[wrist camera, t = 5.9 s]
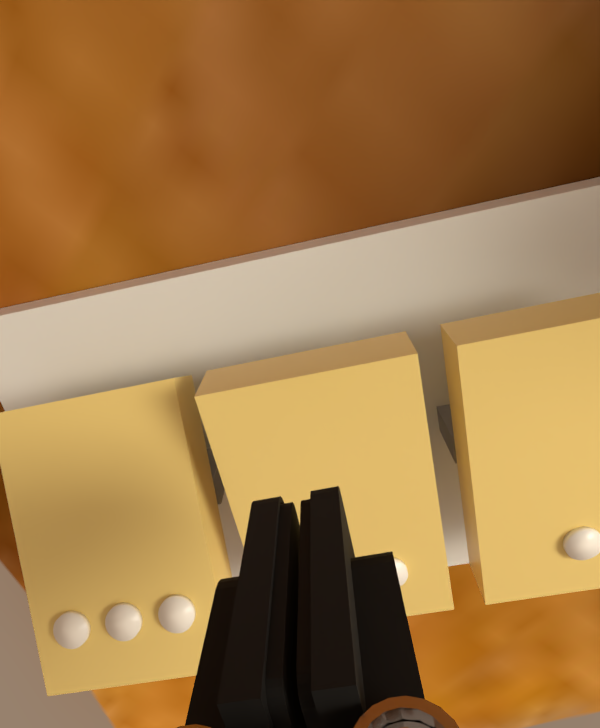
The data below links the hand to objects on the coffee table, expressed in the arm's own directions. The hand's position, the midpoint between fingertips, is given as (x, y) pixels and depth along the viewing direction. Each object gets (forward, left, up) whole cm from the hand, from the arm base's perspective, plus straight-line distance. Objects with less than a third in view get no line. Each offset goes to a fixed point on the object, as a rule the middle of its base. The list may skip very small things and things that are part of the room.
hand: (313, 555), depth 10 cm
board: (+3, 0, -11) cm, 11 cm away
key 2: (+3, 0, -6) cm, 6 cm away
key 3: (+3, -7, -6) cm, 9 cm away
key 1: (+3, +7, -6) cm, 9 cm away
